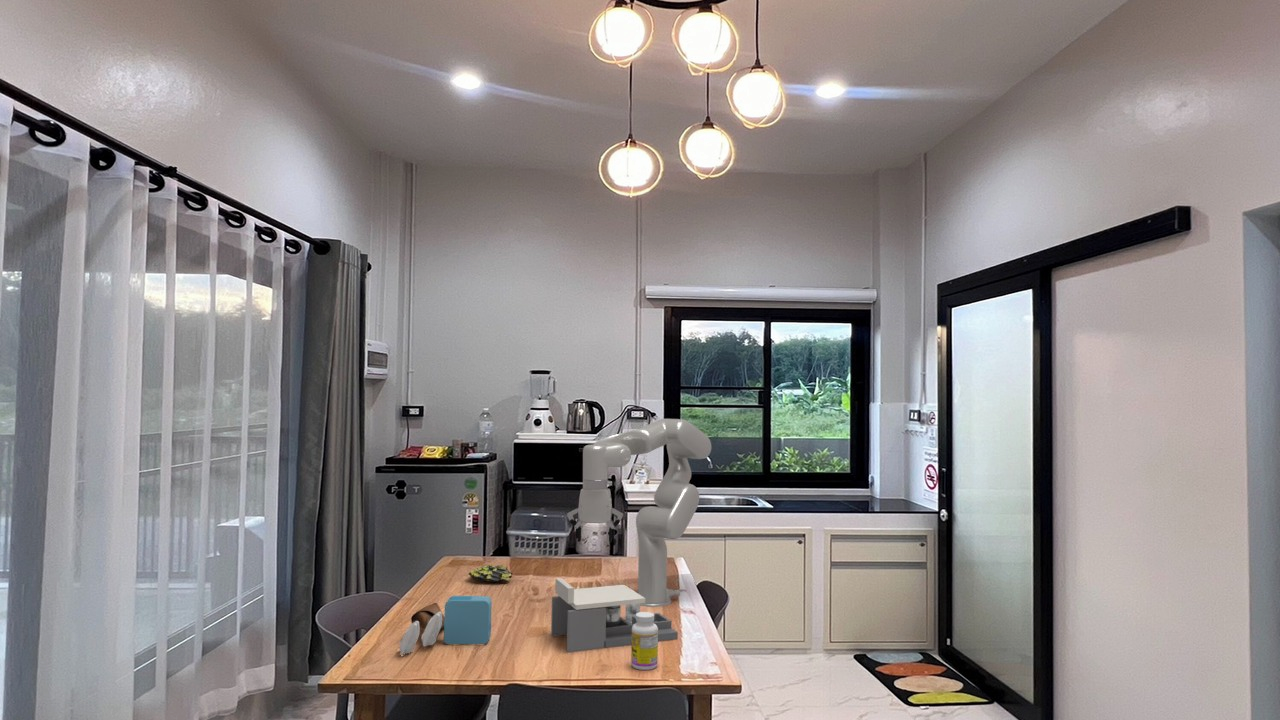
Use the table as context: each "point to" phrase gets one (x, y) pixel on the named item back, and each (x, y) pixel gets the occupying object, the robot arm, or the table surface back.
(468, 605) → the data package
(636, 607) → the silver metal shaker
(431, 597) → the table surface
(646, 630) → the supplement bottle
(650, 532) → the robot arm
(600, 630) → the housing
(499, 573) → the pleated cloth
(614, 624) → the glass spice jar
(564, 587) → the lid
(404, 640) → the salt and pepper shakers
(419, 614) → the sunglasses case
